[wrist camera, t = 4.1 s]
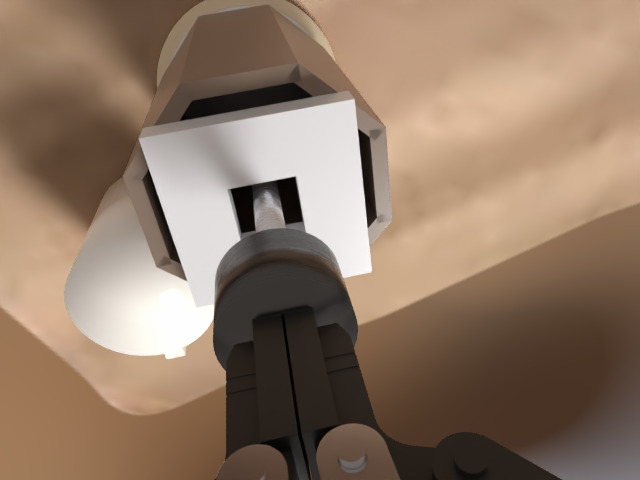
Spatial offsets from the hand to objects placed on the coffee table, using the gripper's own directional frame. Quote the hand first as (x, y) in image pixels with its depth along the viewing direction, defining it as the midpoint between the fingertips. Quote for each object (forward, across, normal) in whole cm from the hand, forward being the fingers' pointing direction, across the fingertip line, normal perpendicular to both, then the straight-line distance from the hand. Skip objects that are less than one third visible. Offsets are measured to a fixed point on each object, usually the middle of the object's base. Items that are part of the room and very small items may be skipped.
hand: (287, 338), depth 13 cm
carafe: (+23, 0, 0) cm, 23 cm away
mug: (+23, +8, +8) cm, 26 cm away
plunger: (+17, 0, 0) cm, 17 cm away
